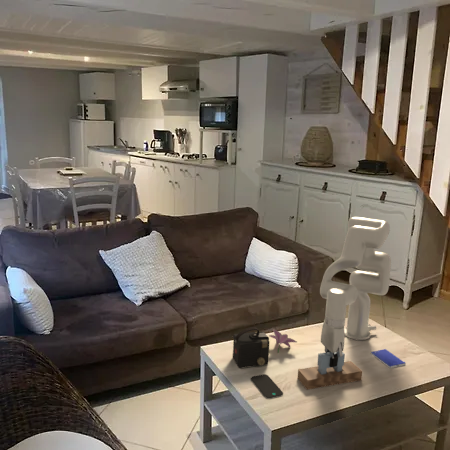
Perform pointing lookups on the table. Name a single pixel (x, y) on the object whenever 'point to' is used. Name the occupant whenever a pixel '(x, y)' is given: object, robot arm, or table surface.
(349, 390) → the table surface
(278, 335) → the lily
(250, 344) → the camera
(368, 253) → the robot arm
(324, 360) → the light blue arch block
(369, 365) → the table surface
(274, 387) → the smartphone
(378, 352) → the hard drive
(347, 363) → the brown block with holes
